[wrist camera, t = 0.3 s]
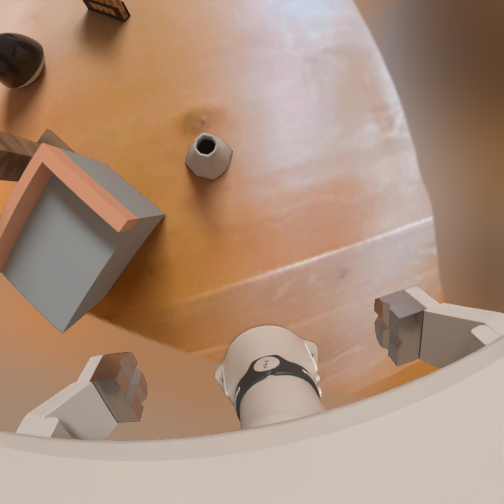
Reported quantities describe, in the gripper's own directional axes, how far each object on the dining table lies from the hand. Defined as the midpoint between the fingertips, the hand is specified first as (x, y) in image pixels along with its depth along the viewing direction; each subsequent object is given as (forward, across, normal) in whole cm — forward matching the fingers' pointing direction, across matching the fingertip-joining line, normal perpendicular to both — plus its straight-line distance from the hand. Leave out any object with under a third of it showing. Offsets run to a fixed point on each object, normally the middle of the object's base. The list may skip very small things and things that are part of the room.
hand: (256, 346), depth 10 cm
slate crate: (+40, -22, 0) cm, 46 cm away
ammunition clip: (+46, -16, +42) cm, 65 cm away
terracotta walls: (+24, -21, +2) cm, 32 cm away
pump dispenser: (+45, -33, +35) cm, 66 cm away
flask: (+42, -2, +7) cm, 43 cm away
